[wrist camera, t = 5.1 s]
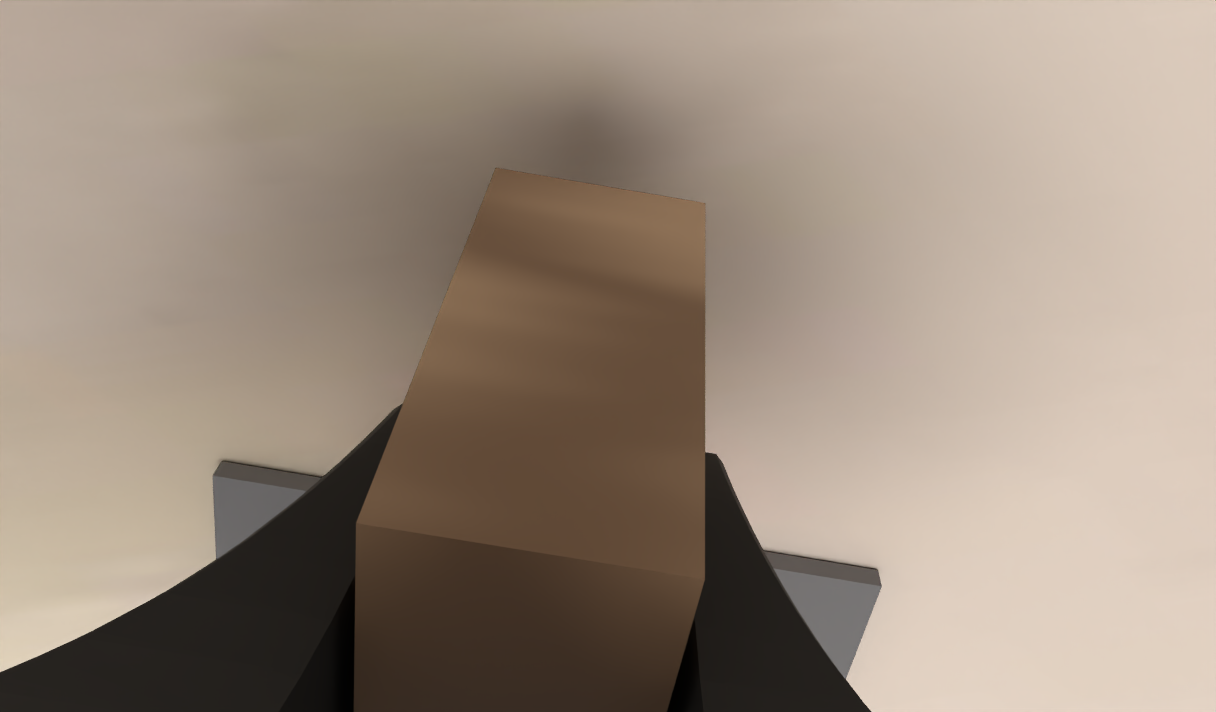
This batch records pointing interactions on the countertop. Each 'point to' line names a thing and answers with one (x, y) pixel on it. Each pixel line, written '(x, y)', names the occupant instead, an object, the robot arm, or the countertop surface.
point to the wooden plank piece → (545, 466)
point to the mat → (817, 588)
